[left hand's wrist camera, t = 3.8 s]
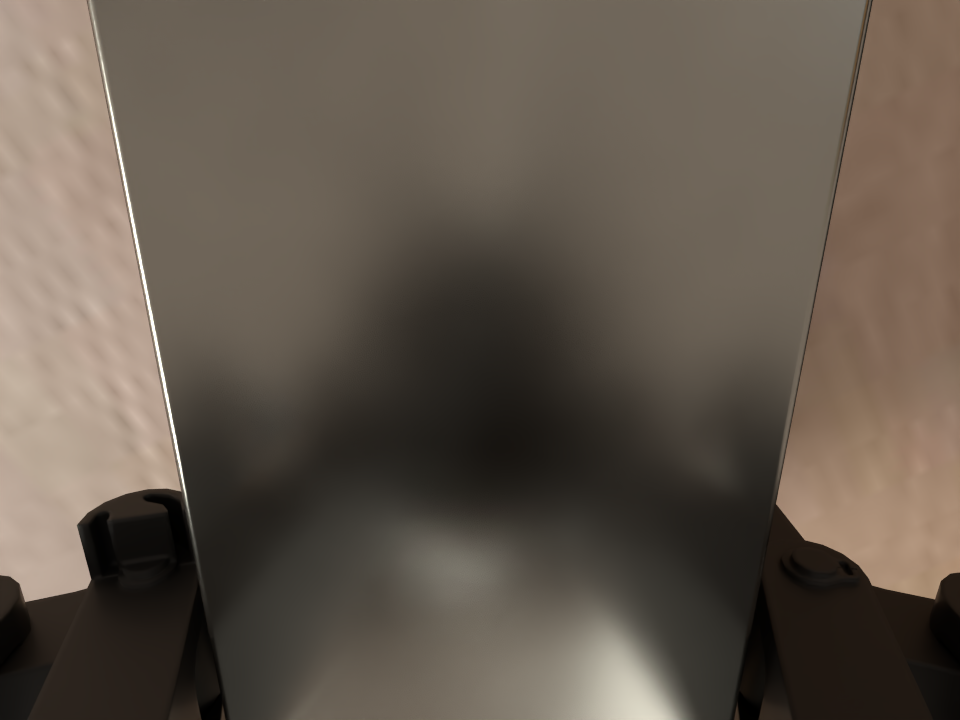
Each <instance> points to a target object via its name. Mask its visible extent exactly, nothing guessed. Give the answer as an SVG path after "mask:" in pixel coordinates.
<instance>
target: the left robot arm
mask: <svg viewBox="0 0 960 720" xmlns="http://www.w3.org/2000/svg"><path fill="white" fill-rule="evenodd" d="M77 527H78V531H79V535H80V538H81V542H82V546H83V550H84V553H85V557H86V561H87V565H88V568H89V572H90V576H91V582H90V584H89V586H88V588H87V589H84V590H80V591H76V592H72V593H67V594H63V595H58V596H53V597H48V598H43V599H39V600H34V601H29V602H25V600H24V597H23V594H22V591H21V588H20V584H19V583H18V582H16V581H15V580H14V579H12V578H11V577H9V576H1V575H0V720H225V715H224V710H223V704H222V699H221V694H220V689H219V684H218V678H217V673H216V668H215V663H214V658H213V653H212V647H211V642H210V637H209V632H208V627H207V621H206V616H205V611H204V606H203V601H202V595H201V590H200V585H199V580H198V575H197V570H196V564H195V559H194V554H193V549H192V544H191V538H190V533H189V528H188V523H187V518H186V512H185V507H184V502H183V497H182V492H180V491H175V490H171V489H147V490H143V491H138V492H133V493H129V494H125V495H122V496H120V497H117V498H115V499H112V500H110V501H107V502H105V503H103V504H102V505H100V506H98V507H97V508H95V509H94V510H92V511H90V512H89V513H87V515H86V516H85V517H84V518H83V519H82V520H81V521H80V522H79V523H78V525H77ZM734 720H960V573H953V574H950V575H948V576H947V577H946V578H944V579H943V580H942V581H941V583H940V586H939V589H938V592H937V595H936V598H935V599H930V598H925V597H920V596H915V595H910V594H906V593H901V592H896V591H891V590H886V589H882V588H879V587H875V586H872V585H871V583H870V581H869V579H868V577H867V576H866V575H865V573H864V572H863V571H862V569H861V568H860V567H859V566H858V565H857V564H856V563H854V562H853V561H852V560H850V559H849V558H847V557H846V556H845V555H843V554H842V553H839V552H837V551H835V550H833V549H831V548H828V547H826V546H824V545H821V544H817V543H813V542H809V541H805V540H804V539H803V538H802V536H801V535H800V534H799V532H798V531H797V530H796V529H795V527H794V526H793V525H792V524H791V522H790V521H789V520H788V519H787V517H786V516H785V515H784V514H783V512H782V511H781V510H780V509H779V507H778V506H777V505H775V510H774V515H773V521H772V526H771V531H770V536H769V541H768V547H767V552H766V557H765V562H764V567H763V573H762V578H761V583H760V588H759V593H758V598H757V604H756V609H755V614H754V619H753V624H752V630H751V635H750V640H749V645H748V650H747V656H746V661H745V666H744V671H743V676H742V682H741V687H740V692H739V697H738V702H737V708H736V713H735V718H734Z"/></svg>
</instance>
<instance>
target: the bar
mask: <svg viewBox="0 0 960 720" xmlns="http://www.w3.org/2000/svg"><path fill="white" fill-rule="evenodd" d="M872 1H873V0H87V4H88V9H89V14H90V20H91V25H92V30H93V35H94V40H95V46H96V51H97V56H98V61H99V66H100V71H101V77H102V82H103V87H104V92H105V97H106V103H107V108H108V113H109V118H110V123H111V129H112V134H113V139H114V144H115V149H116V154H117V160H118V165H119V170H120V175H121V180H122V186H123V191H124V196H125V201H126V206H127V212H128V217H129V222H130V227H131V232H132V237H133V243H134V248H135V253H136V258H137V263H138V269H139V274H140V279H141V284H142V289H143V295H144V300H145V305H146V310H147V315H148V321H149V326H150V331H151V336H152V341H153V346H154V352H155V357H156V362H157V367H158V372H159V378H160V383H161V388H162V393H163V398H164V404H165V409H166V414H167V419H168V424H169V429H170V435H171V440H172V445H173V450H174V455H175V461H176V466H177V471H178V476H179V481H180V487H181V492H182V497H183V502H184V507H185V512H186V518H187V523H188V528H189V533H190V538H191V544H192V549H193V554H194V559H195V564H196V570H197V575H198V580H199V585H200V590H201V595H202V601H203V606H204V611H205V616H206V621H207V627H208V632H209V637H210V642H211V647H212V653H213V658H214V663H215V668H216V673H217V678H218V684H219V689H220V694H221V699H222V704H223V710H224V715H225V720H734V718H735V713H736V708H737V702H738V697H739V692H740V687H741V682H742V676H743V671H744V666H745V661H746V656H747V650H748V645H749V640H750V635H751V630H752V624H753V619H754V614H755V609H756V604H757V598H758V593H759V588H760V583H761V578H762V573H763V567H764V562H765V557H766V552H767V547H768V541H769V536H770V531H771V526H772V521H773V515H774V510H775V505H776V500H777V495H778V489H779V484H780V479H781V474H782V469H783V463H784V458H785V453H786V448H787V443H788V437H789V432H790V427H791V422H792V417H793V412H794V406H795V401H796V396H797V391H798V386H799V380H800V375H801V370H802V365H803V360H804V354H805V349H806V344H807V339H808V334H809V328H810V323H811V318H812V313H813V308H814V302H815V297H816V292H817V287H818V282H819V277H820V271H821V266H822V261H823V256H824V251H825V245H826V240H827V235H828V230H829V225H830V219H831V214H832V209H833V204H834V199H835V193H836V188H837V183H838V178H839V173H840V167H841V162H842V157H843V152H844V147H845V141H846V136H847V131H848V126H849V121H850V116H851V110H852V105H853V100H854V95H855V90H856V84H857V79H858V74H859V69H860V64H861V58H862V53H863V48H864V43H865V38H866V32H867V27H868V22H869V17H870V12H871V6H872Z"/></svg>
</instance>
